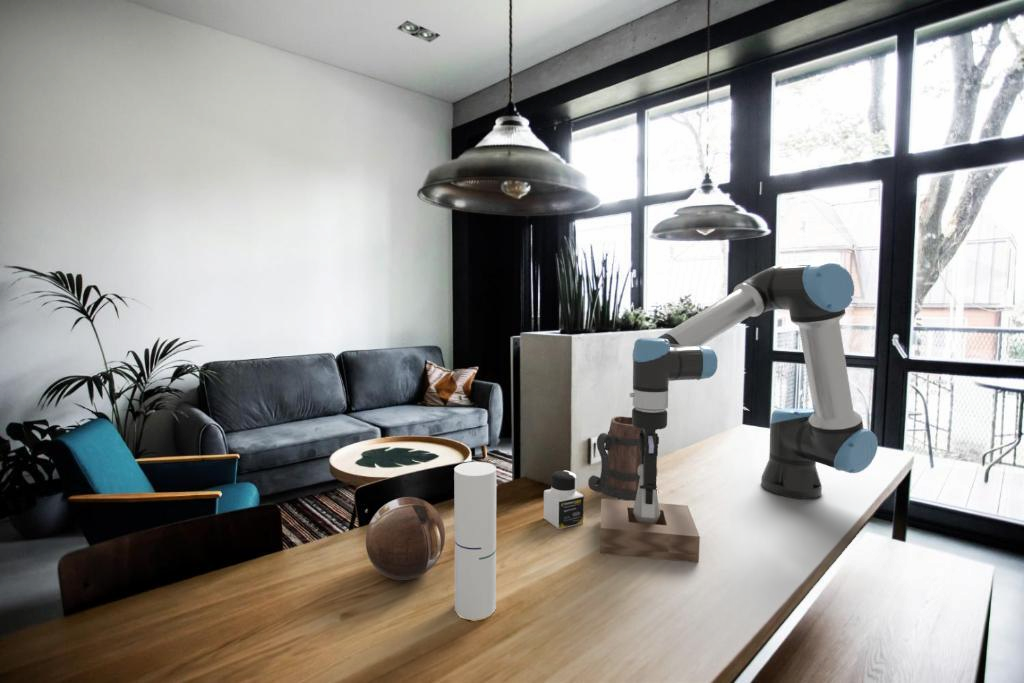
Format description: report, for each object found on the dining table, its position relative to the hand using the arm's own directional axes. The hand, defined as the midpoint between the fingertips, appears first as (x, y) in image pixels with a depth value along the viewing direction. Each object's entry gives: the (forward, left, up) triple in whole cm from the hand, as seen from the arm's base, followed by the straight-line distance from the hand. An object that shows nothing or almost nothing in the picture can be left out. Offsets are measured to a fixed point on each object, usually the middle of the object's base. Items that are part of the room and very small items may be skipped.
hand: (646, 510), depth 113 cm
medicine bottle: (+19, -6, -7) cm, 21 cm away
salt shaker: (0, 0, -3) cm, 3 cm away
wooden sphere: (+47, +24, -7) cm, 53 cm away
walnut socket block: (0, 0, -7) cm, 7 cm away
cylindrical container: (+31, +32, -7) cm, 45 cm away
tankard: (+5, -28, -7) cm, 29 cm away
